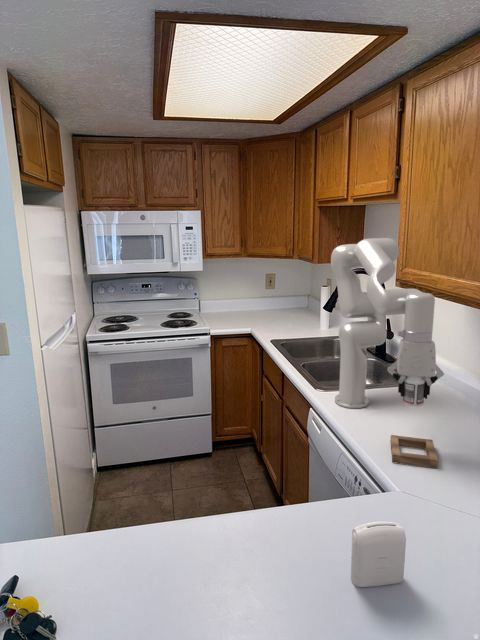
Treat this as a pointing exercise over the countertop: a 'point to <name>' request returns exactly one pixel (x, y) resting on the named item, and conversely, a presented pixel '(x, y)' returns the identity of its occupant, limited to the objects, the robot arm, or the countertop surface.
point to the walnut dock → (413, 459)
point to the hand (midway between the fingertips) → (413, 395)
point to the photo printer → (378, 554)
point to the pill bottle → (413, 390)
